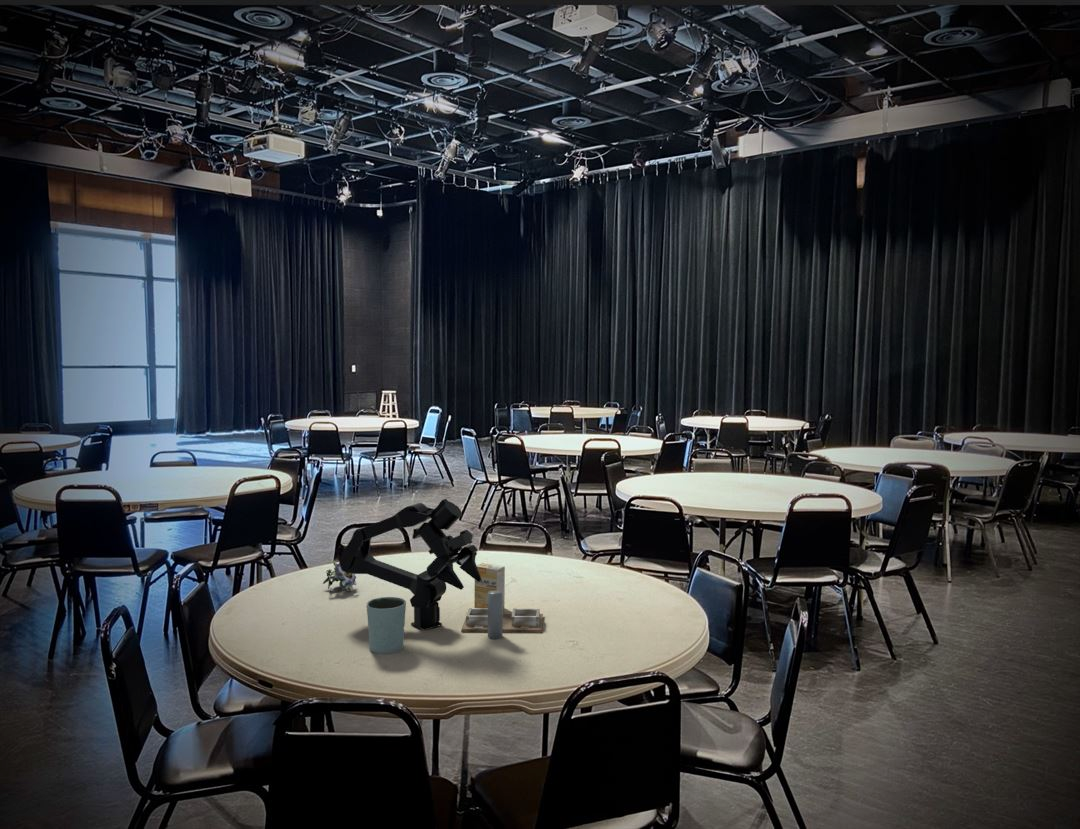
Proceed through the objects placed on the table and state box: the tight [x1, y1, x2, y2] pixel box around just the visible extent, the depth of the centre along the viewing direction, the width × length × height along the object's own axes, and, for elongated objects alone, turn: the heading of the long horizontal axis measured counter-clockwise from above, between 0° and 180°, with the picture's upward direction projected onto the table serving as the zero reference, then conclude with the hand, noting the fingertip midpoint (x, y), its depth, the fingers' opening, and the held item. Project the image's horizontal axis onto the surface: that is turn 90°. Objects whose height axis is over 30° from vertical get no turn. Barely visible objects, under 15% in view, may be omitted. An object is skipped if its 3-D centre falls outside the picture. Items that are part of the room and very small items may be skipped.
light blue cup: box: [366, 596, 407, 655], centre depth 204 cm, size 10×10×12 cm
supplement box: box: [473, 562, 506, 610], centre depth 237 cm, size 8×5×13 cm, turn 62°
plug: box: [487, 591, 504, 640], centre depth 212 cm, size 4×4×12 cm
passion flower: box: [322, 560, 357, 592], centre depth 258 cm, size 11×11×12 cm
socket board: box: [461, 607, 544, 634], centre depth 223 cm, size 22×14×3 cm, turn 88°
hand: (471, 584), depth 215 cm, fingers open, 9 cm apart
